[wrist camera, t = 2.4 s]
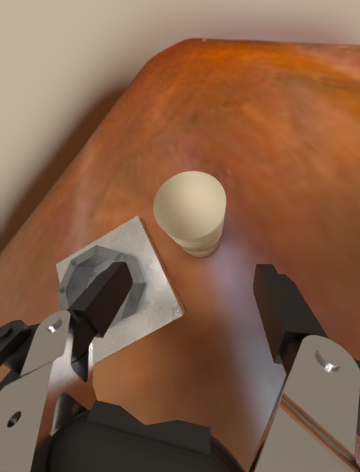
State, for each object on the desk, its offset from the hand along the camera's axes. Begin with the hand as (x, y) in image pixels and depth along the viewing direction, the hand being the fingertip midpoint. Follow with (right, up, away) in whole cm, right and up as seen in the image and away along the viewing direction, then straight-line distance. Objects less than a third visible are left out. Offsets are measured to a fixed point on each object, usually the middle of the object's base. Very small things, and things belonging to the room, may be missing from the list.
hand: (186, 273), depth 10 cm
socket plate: (-9, -4, +11) cm, 15 cm away
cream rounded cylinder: (+2, +2, +11) cm, 11 cm away
